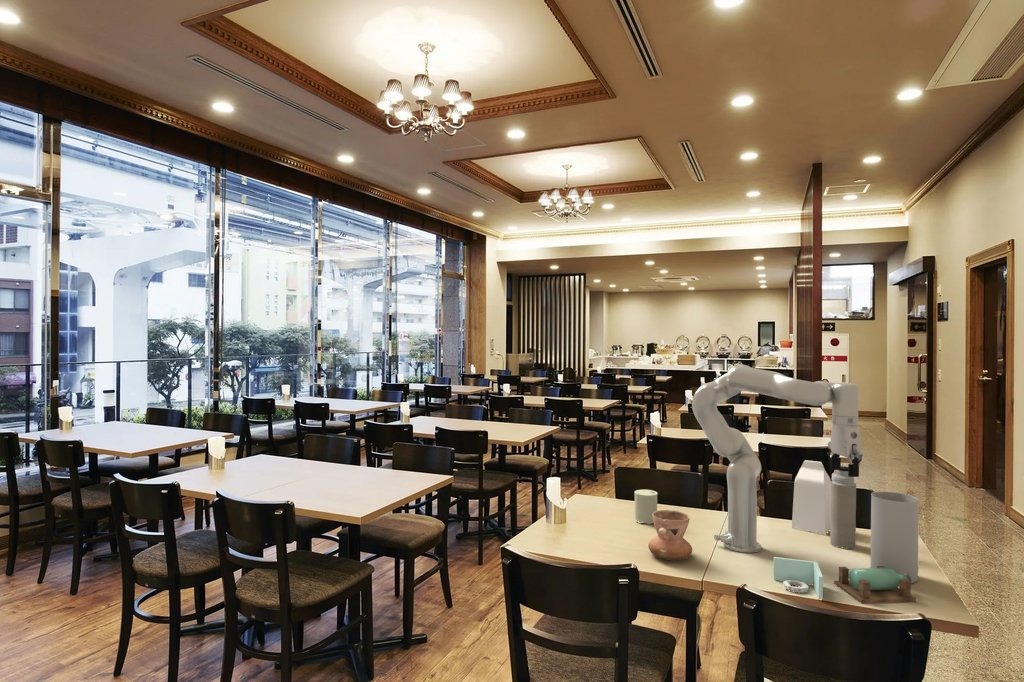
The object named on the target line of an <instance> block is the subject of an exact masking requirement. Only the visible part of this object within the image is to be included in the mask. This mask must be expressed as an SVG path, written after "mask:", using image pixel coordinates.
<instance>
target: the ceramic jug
mask: <svg viewBox="0 0 1024 682" xmlns="http://www.w3.org/2000/svg"><path fill="white" fill-rule="evenodd" d="M652 517H653V522H654V524H653V525H654V529H655V531H656V533H657V535H655V536H653V537H652V538H651V539H650V540H649V541H648V544H647V545H648V547H647V548H648V549H649V551H650V553H651V554H652V555H654V557H657V558H659V559H662V560H666V559H667V560H668V561H680V560H685V559H687V558H689V557H690V556H691V554H693V546H692V545H691V543H690V542H689V541H687V539H685V538H684V535H685V533H686V532H687V528H688V526H689V523H690V516H689V515H688V514H687V513H685V512H682V511H679V510H676V509H675V510H669V509H660V510H657V511H655V512H653V514H652Z"/></svg>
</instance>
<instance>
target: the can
mask: <svg viewBox="0 0 1024 682" xmlns="http://www.w3.org/2000/svg"><path fill="white" fill-rule="evenodd" d="M655 511H658V492H657V491H655V490H653V489H637V490H634V518H633V520H634V519H635V520H637V521H639V522H643V523H654V522H653V517H652V514H653V512H655Z"/></svg>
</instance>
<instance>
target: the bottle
mask: <svg viewBox="0 0 1024 682" xmlns="http://www.w3.org/2000/svg"><path fill="white" fill-rule="evenodd" d="M900 579H907V580H909V581H911V576H910V575H909V574H908V573H903V574H896V572H895V571H894V570H893V569H892V568H871V567H867V568H866V567H863V568H851V569H849V580H850V583H851V585H852V587H853V588H854V589H855V590H857V591H859V580H867V581H868V582H870V590H896V589H897V588H899V587H900Z"/></svg>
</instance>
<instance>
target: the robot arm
mask: <svg viewBox="0 0 1024 682" xmlns="http://www.w3.org/2000/svg"><path fill="white" fill-rule="evenodd" d="M744 391H745V392H749V393H755V394H759V395H764V396H769V397H773V398H777V399H782V400H786V401H789V402H795V403H799V404H804V405H810V406H815V407H816V406H817V407H819V406H823V405H825V404H828V403H831V408H832V409H831V430H830V431H831V432H830V441H828V442H827V446H828V452H829V458H830V470H832V471H836V470H840V469H841V466H842V465H841V464H842V461H841V460H842V458H841V457H844V458H847V460H848V462H849V463H848V464H847V467H848V476H849V477H854V478H858V477H859V476H860V465H861V462H862V459H863V455H864V452H863V451H862V440H861V439H862V437H861V431H860V426H859V402H860V401H859V397H860V394H859V386H858V385H857V384H856V383H850V382H836V383H835V382H831V381H825V380H817V381H808V380H802V379H797V378H793V377H790V376H786V375H784V374H782V373H780V372H777V371H772V370H768V369H767V370H766V369H761V368H756V367H755V368H754V367H751V366H749V365H746V364H739V365H734V366H732V367H731V368H730V369H729V370H728V371H727V372H726V373H724V374H723V375H722V376H721V375H720V376H719V377H718V378H716V379H714V380H713V381H711V382H707V383H704V384H702V385H700V387H698V389H696V391H695V392H694V394H693V398H692V403H691V409H692V412H693V414H694V417H695V419H696V420H697V422H698V423H699V425H700V427H701V428H702V431H703V432H704V435H705V436H706V438H707V439H708V441H709V442H710V445H712V447H713V449H714V451H715V452H716V454H717V455H719V456H720V457H722V458H727V459H728V461H729V464H728V467H727V469H726V481H727V483H726V484H727V531H725V532H724V533H723V534H715V535H714V536H713V537H714V538H713V539H714V540H715V541H719V542H721V543H722V544H723V546H724V547H725V548H726V547H727V548H726V549H728V550H731V551H734V552H738V551H739V552H740V553H757V552H760V551H761V550H762V545H761V543H760V542H758V541H757V537H758V536H757V532H758V531H757V525H758V523H757V522H758V520H757V519H758V515H757V514H758V512H757V511H758V510H757V509H758V508H757V507H758V503H757V499H758V497H757V493H758V492H757V478H758V476H759V475H760V474H761V472H762V464H761V461H760V459H759V458H758V455H756V453H755V450H754V449H753V448H752V446H751V445H750V443H749V441H748V440H747V438H746V437H745V435H744V434H743V433H742V432H741V431H739V429H736V428H734V427H730V426H729V424H728V422H727V421H726V419H725V418H724V416H723V414H722V413H721V412H720V411H719V410H718V407H717V406H718V405H719V404H721V403H722V404H723V403H724V402H726V401H727V400H729V399H730V398H732V397H734V396H736V395H738V394H740V393H741V392H744Z"/></svg>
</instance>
